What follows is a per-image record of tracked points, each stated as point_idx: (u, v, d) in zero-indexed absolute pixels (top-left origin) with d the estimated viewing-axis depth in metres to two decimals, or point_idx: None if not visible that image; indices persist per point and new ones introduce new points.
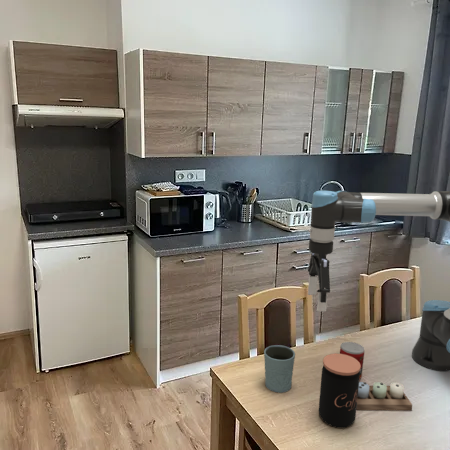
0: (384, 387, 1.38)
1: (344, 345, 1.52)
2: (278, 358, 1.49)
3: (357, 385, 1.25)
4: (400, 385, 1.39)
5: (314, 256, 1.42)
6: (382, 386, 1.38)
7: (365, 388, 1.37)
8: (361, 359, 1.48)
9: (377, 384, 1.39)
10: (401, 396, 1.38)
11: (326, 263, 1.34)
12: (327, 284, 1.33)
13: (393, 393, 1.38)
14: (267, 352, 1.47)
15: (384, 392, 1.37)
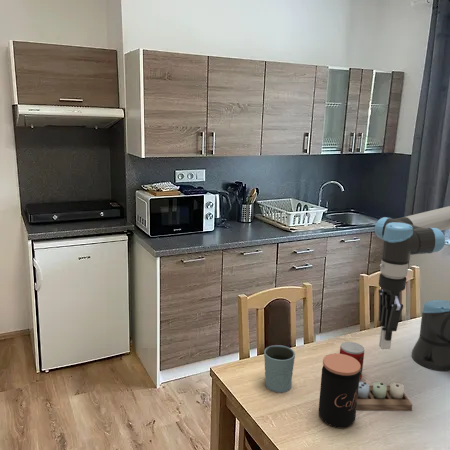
0: (384, 387, 1.38)
1: (344, 345, 1.52)
2: (278, 358, 1.49)
3: (357, 385, 1.25)
4: (400, 385, 1.39)
5: (384, 291, 1.33)
6: (382, 386, 1.38)
7: (365, 388, 1.37)
8: (361, 359, 1.48)
9: (377, 384, 1.39)
10: (401, 396, 1.38)
11: (399, 308, 1.26)
12: (395, 325, 1.29)
13: (393, 393, 1.38)
14: (267, 352, 1.47)
15: (384, 392, 1.37)
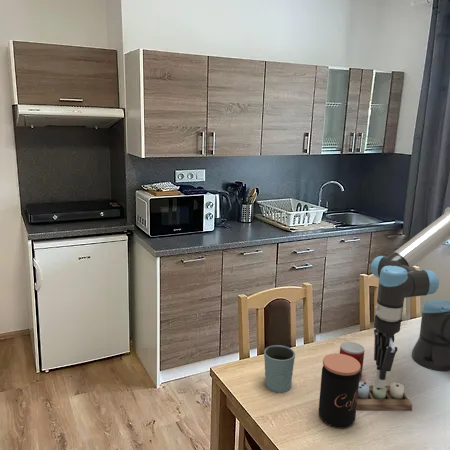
0: (384, 389, 1.38)
1: (344, 345, 1.52)
2: (278, 358, 1.49)
3: (357, 385, 1.25)
4: (400, 385, 1.39)
5: (379, 332, 1.36)
6: (382, 388, 1.38)
7: (365, 388, 1.37)
8: (361, 359, 1.48)
9: None
10: (401, 396, 1.38)
11: (394, 351, 1.29)
12: (389, 366, 1.32)
13: (393, 393, 1.38)
14: (267, 352, 1.47)
15: (384, 394, 1.37)
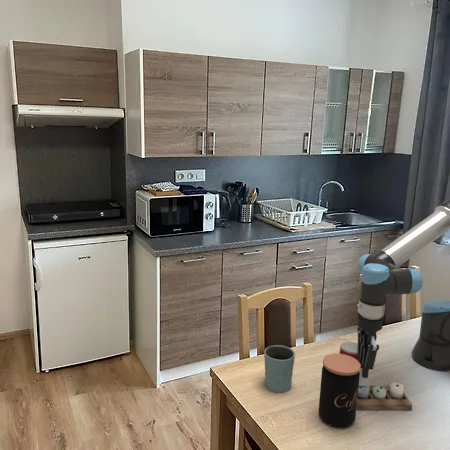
0: (384, 391, 1.38)
1: (344, 345, 1.52)
2: (278, 358, 1.49)
3: (357, 385, 1.25)
4: (400, 385, 1.39)
5: (361, 330, 1.36)
6: (382, 390, 1.38)
7: (365, 388, 1.37)
8: None
9: (377, 388, 1.39)
10: (401, 396, 1.38)
11: (375, 349, 1.29)
12: (371, 364, 1.32)
13: (393, 393, 1.38)
14: (267, 352, 1.47)
15: (384, 396, 1.37)
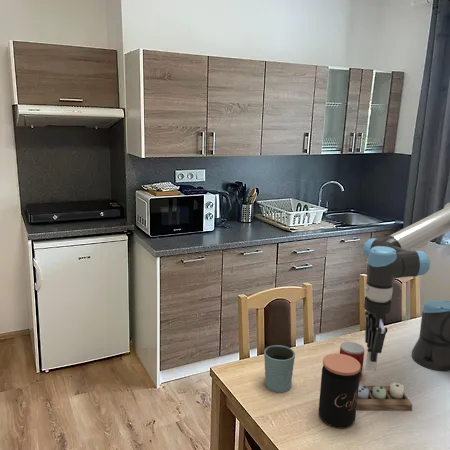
0: (384, 391, 1.38)
1: (344, 345, 1.52)
2: (278, 358, 1.49)
3: (357, 385, 1.25)
4: (400, 385, 1.39)
5: (369, 313, 1.35)
6: (382, 390, 1.38)
7: (365, 392, 1.37)
8: (361, 359, 1.48)
9: (377, 388, 1.39)
10: (401, 396, 1.38)
11: (383, 332, 1.28)
12: (380, 347, 1.31)
13: (393, 393, 1.38)
14: (267, 352, 1.47)
15: (384, 396, 1.37)
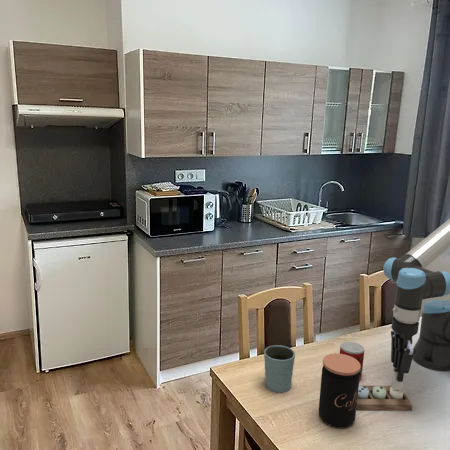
0: (384, 391, 1.38)
1: (344, 345, 1.52)
2: (278, 358, 1.49)
3: (357, 385, 1.25)
4: None
5: (396, 334, 1.36)
6: (382, 390, 1.38)
7: (365, 392, 1.37)
8: (361, 359, 1.48)
9: (377, 388, 1.39)
10: None
11: (412, 353, 1.29)
12: (407, 368, 1.33)
13: (393, 397, 1.38)
14: (267, 352, 1.47)
15: (384, 396, 1.37)
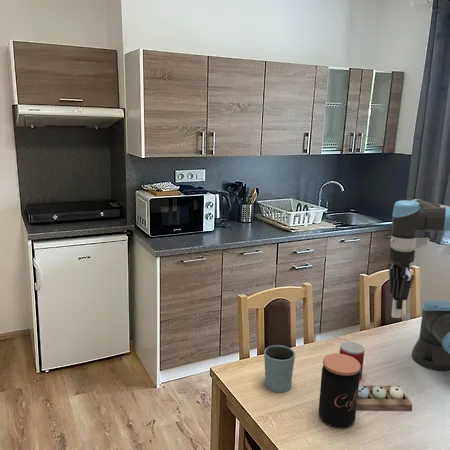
0: (384, 391, 1.38)
1: (344, 345, 1.52)
2: (278, 358, 1.49)
3: (357, 385, 1.25)
4: (400, 389, 1.39)
5: (394, 264, 1.44)
6: (382, 390, 1.38)
7: (365, 392, 1.37)
8: (361, 359, 1.48)
9: (377, 388, 1.39)
10: None
11: (410, 278, 1.38)
12: (406, 294, 1.41)
13: (393, 397, 1.38)
14: (267, 352, 1.47)
15: (384, 396, 1.37)
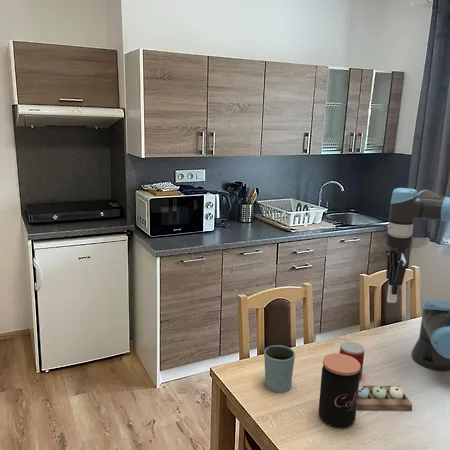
0: (384, 391, 1.38)
1: (344, 345, 1.52)
2: (278, 358, 1.49)
3: (357, 385, 1.25)
4: (400, 389, 1.39)
5: (391, 250, 1.48)
6: (382, 390, 1.38)
7: (365, 392, 1.37)
8: (361, 359, 1.48)
9: (377, 388, 1.39)
10: None
11: (405, 264, 1.41)
12: (401, 280, 1.44)
13: (393, 397, 1.38)
14: (267, 352, 1.47)
15: (384, 396, 1.37)
